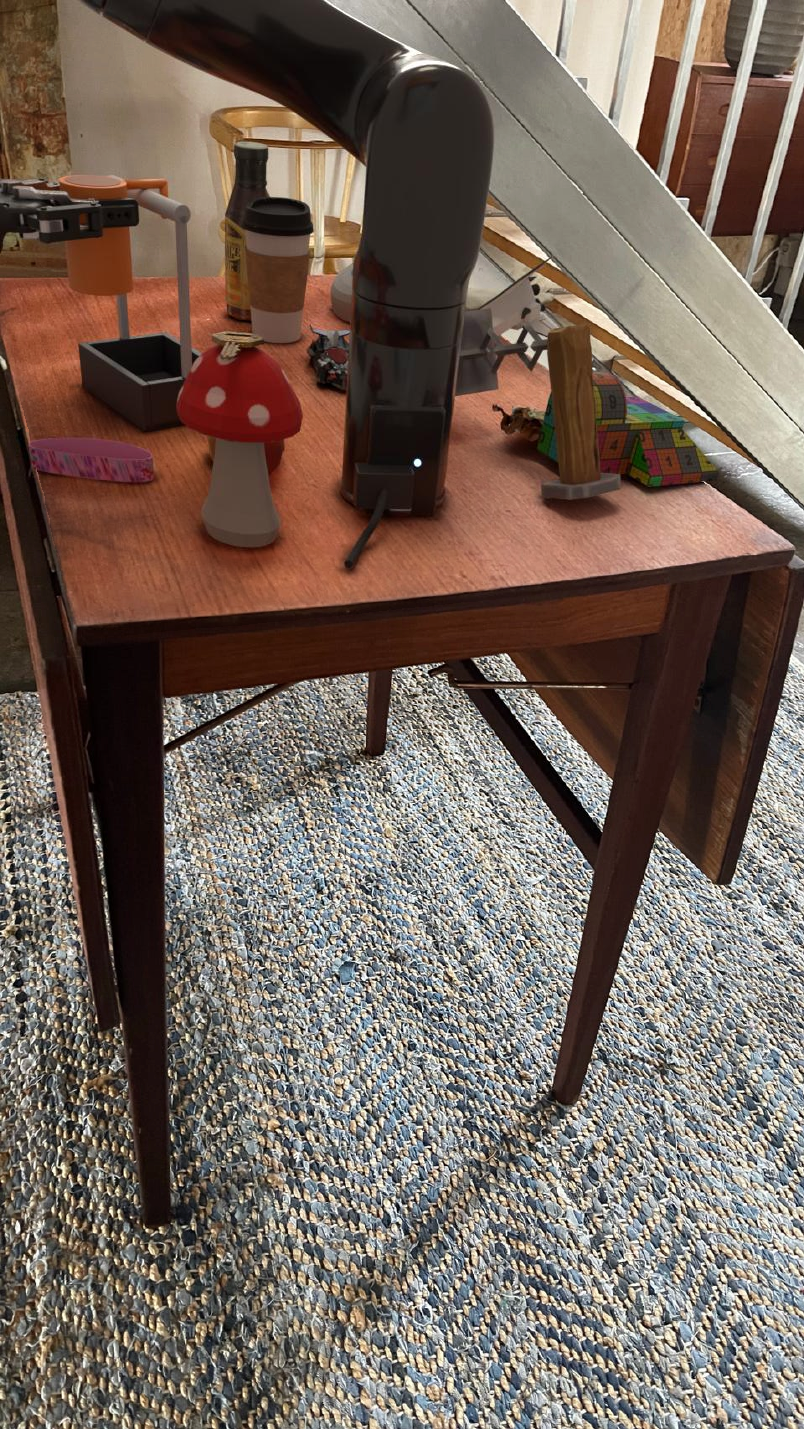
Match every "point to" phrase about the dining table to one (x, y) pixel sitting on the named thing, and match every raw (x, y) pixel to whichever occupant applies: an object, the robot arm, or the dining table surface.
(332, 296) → the decorative stone
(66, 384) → the dining table surface
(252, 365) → the decorative mushroom
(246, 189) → the sauce bottle
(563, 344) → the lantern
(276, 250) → the coffee cup
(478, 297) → the arrowhead
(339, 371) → the toy car
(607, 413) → the building blocks
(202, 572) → the dining table surface
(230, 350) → the key
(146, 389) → the basket
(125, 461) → the headband
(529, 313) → the space shuttle model
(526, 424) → the brown crumpled lump
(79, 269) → the orange mug
